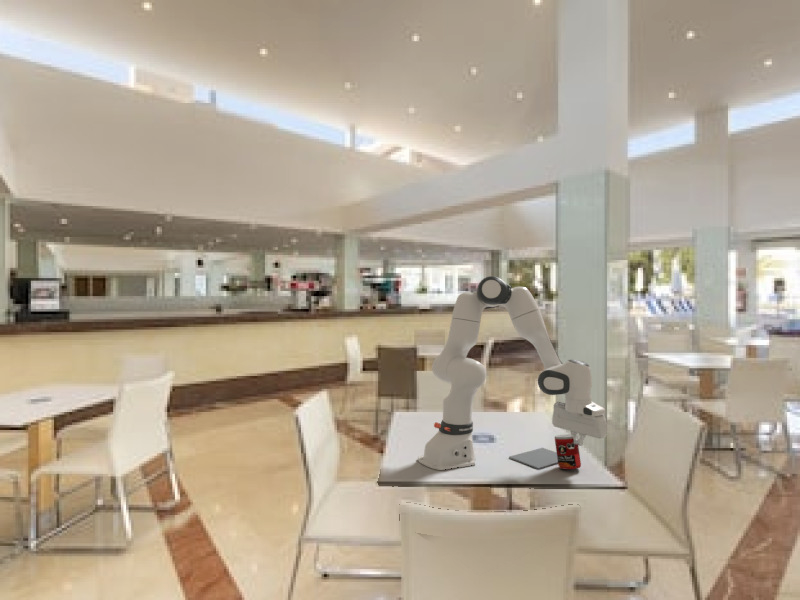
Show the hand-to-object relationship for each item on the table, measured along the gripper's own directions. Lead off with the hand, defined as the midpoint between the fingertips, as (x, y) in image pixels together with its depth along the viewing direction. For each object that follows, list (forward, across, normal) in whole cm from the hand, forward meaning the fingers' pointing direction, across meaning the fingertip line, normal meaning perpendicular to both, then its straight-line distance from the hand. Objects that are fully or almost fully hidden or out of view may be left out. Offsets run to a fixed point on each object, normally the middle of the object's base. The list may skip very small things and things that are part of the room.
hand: (578, 444), depth 166 cm
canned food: (+9, -3, 0) cm, 10 cm away
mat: (+10, -16, 0) cm, 19 cm away
